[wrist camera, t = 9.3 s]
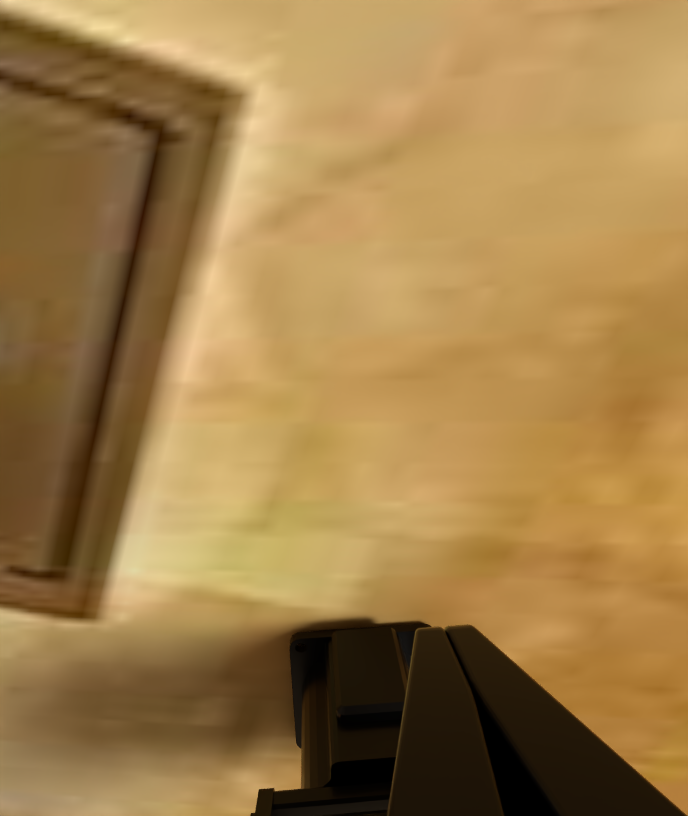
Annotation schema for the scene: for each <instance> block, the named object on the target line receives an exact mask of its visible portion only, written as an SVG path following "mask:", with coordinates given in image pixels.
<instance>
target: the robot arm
mask: <svg viewBox="0 0 688 816" xmlns="http://www.w3.org/2000/svg"><path fill="white" fill-rule="evenodd" d="M300 643H303V644H305V645H303V646H298V645H297V644H300ZM290 660H291V674H292V689H293V703H294V717H295V731H296V743H297V746H298V747H299V748H301V789H294V790H283V791H275V790H274V788H270V789H259V792H258V798H257V805H256V811H255V813H251V815H250V816H687V815H686V814H685V813H684V812H682V811H681V810H680V809H679V808H678V807H677V806H676V805H674V804H673V803H672V802H671V801H670V800H669V799H668V798H667V797H665V796H664V795H663V794H662V793H661V792H660V791H659V790H658V789H656V788H655V787H654V786H653V785H652V784H651V783H650V782H649V781H647V780H646V779H645V778H644V777H643V776H642V775H641V774H640V773H638V772H637V771H636V770H635V769H634V768H633V767H632V766H631V765H629V764H628V763H627V762H626V761H625V760H624V759H623V758H622V757H620V756H619V755H618V754H617V753H616V752H615V751H614V750H613V749H611V748H610V747H609V746H608V745H607V744H606V743H605V742H604V741H602V740H601V739H600V738H599V737H598V736H597V735H596V734H594V733H593V732H592V731H591V730H590V729H589V728H588V727H587V726H585V725H584V724H583V723H582V722H581V721H580V720H579V719H578V718H576V717H575V716H574V715H573V714H572V713H571V712H570V711H569V710H567V709H566V708H565V707H564V706H563V705H562V704H561V703H560V702H558V701H557V700H556V699H555V698H554V697H553V696H552V695H551V694H549V693H548V692H547V691H546V690H545V689H544V688H543V687H542V686H540V685H539V684H538V683H537V682H536V681H535V680H534V679H533V678H531V677H530V676H529V675H528V674H527V673H526V672H525V671H524V670H522V669H521V668H520V667H519V666H518V665H517V664H516V663H515V662H513V661H512V660H511V659H510V658H509V657H508V656H507V655H505V654H504V653H503V652H502V651H501V650H500V649H499V648H498V647H496V646H495V645H494V644H493V643H492V642H491V641H490V640H489V639H487V638H486V637H485V636H484V635H483V634H482V633H481V632H480V631H478V630H477V629H476V628H475V627H473V626H471V625H456V626H447V627H446V628H445V629H443V628H441V627H431V626H430V625H428V624H412V625H398V626H383V627H369V628H354V629H340V630H325V631H311V632H299V633H296V634H294V635H293V636H292V637H291V639H290Z"/></svg>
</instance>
